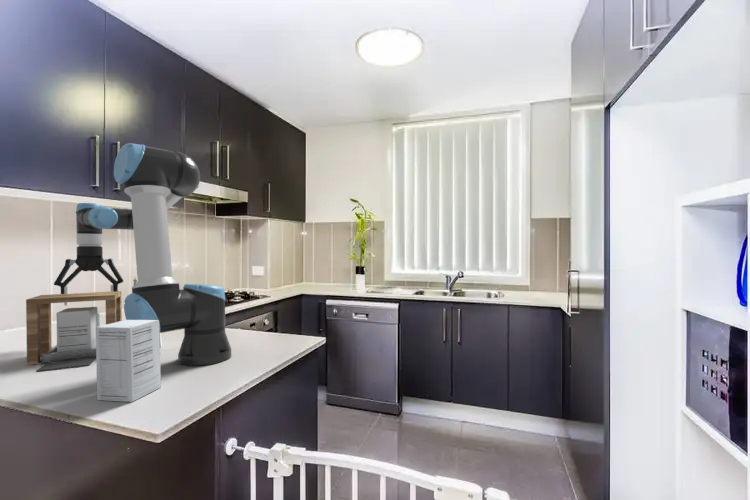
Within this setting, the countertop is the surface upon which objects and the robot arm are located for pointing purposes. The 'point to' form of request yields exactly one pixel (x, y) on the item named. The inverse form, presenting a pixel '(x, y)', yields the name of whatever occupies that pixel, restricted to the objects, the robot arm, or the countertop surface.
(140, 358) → the supplement box
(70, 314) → the supplement box
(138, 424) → the countertop surface
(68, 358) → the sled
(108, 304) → the bridge
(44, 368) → the dark grey flat block
